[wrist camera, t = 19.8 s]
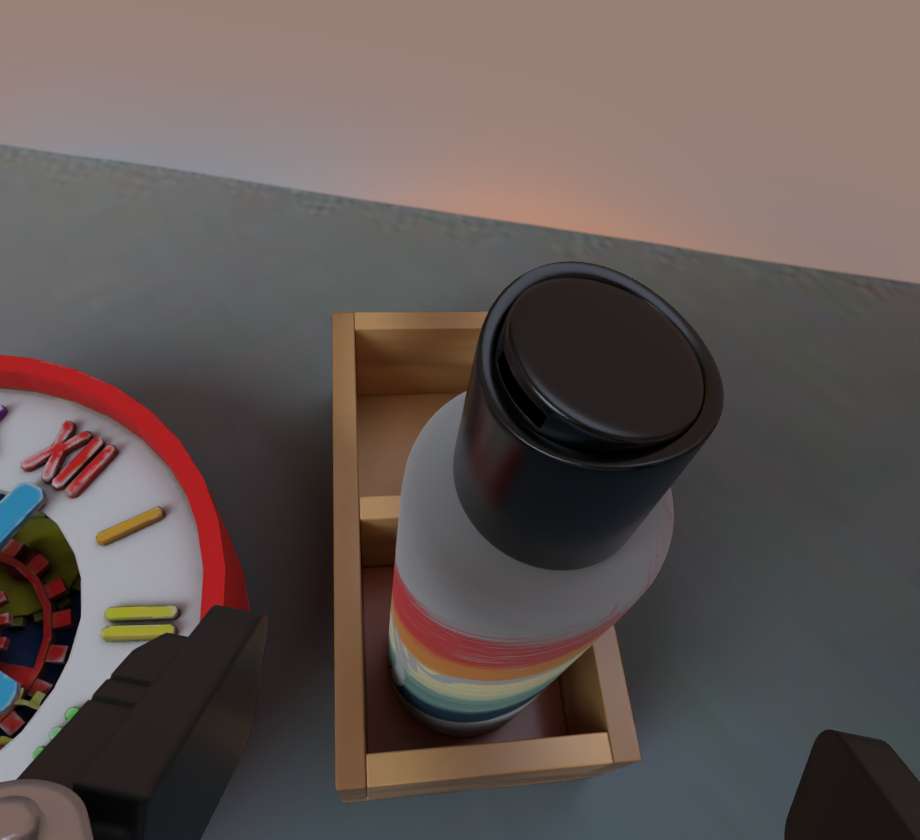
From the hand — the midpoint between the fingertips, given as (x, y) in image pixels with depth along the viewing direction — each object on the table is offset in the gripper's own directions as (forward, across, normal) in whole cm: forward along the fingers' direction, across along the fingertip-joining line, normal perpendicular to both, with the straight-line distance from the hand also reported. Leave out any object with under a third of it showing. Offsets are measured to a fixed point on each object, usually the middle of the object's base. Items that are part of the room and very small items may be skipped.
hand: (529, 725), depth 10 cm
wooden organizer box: (+19, +1, +7) cm, 21 cm away
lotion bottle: (+16, 0, +9) cm, 18 cm away
